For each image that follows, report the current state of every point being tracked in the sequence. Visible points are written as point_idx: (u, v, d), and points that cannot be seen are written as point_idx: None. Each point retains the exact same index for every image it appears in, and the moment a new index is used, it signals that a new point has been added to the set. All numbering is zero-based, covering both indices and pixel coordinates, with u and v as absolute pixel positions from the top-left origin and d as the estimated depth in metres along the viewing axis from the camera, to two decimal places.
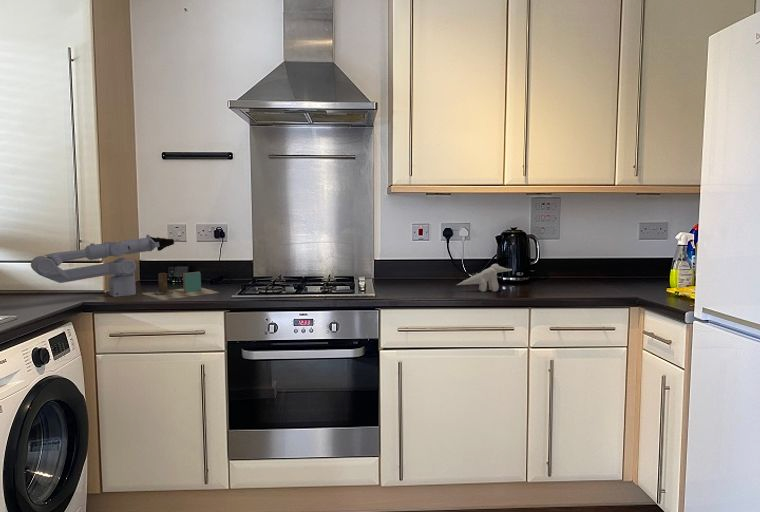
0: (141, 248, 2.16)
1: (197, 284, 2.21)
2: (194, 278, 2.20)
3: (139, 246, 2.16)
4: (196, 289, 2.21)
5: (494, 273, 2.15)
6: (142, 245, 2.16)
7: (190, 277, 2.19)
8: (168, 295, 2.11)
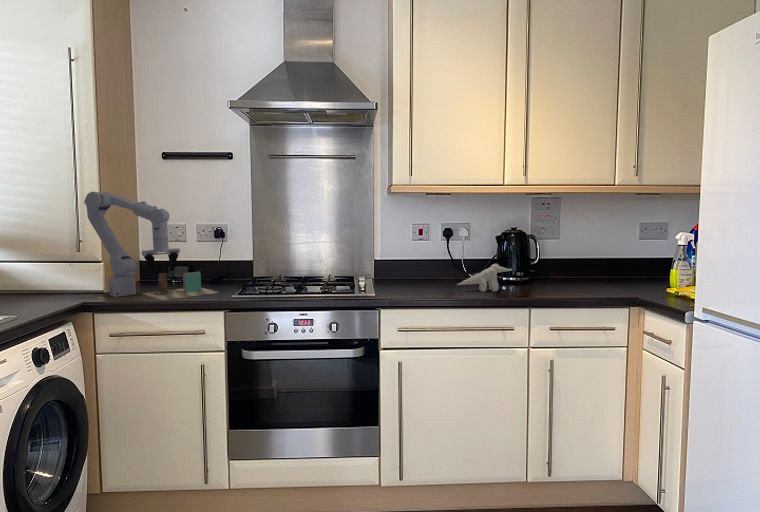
0: (153, 240, 2.12)
1: (197, 284, 2.21)
2: (194, 278, 2.20)
3: (153, 238, 2.11)
4: (196, 289, 2.21)
5: (494, 273, 2.15)
6: (153, 241, 2.11)
7: (190, 277, 2.19)
8: (168, 295, 2.11)
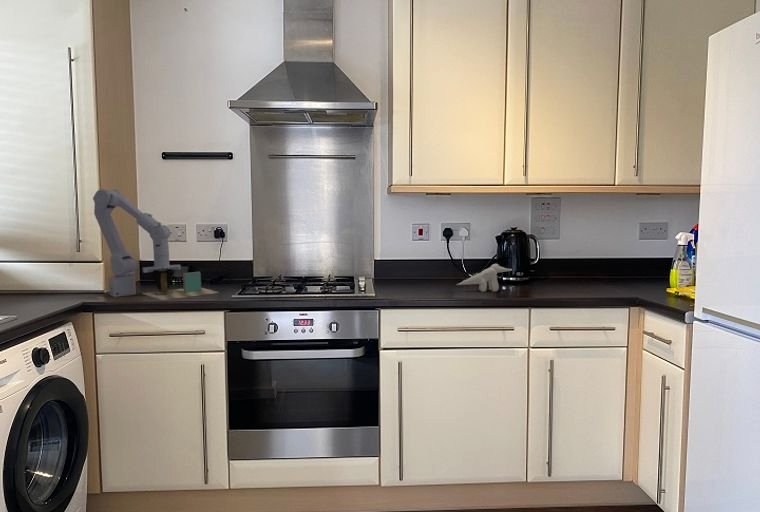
0: None
1: (197, 284, 2.21)
2: (194, 278, 2.20)
3: (154, 255, 2.12)
4: (196, 289, 2.21)
5: (494, 273, 2.15)
6: (154, 258, 2.12)
7: (190, 277, 2.19)
8: (168, 295, 2.11)
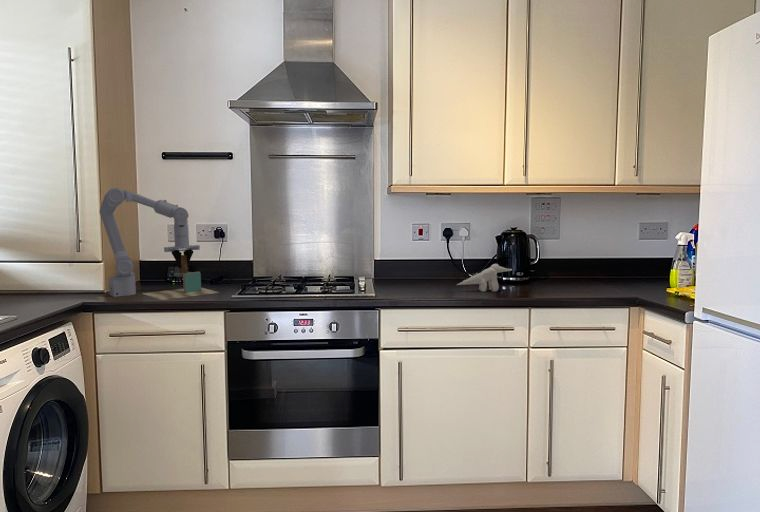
0: (174, 237, 2.22)
1: (197, 284, 2.21)
2: (194, 278, 2.20)
3: (174, 235, 2.21)
4: (196, 289, 2.21)
5: (494, 273, 2.15)
6: (175, 238, 2.21)
7: (190, 277, 2.19)
8: (168, 295, 2.11)
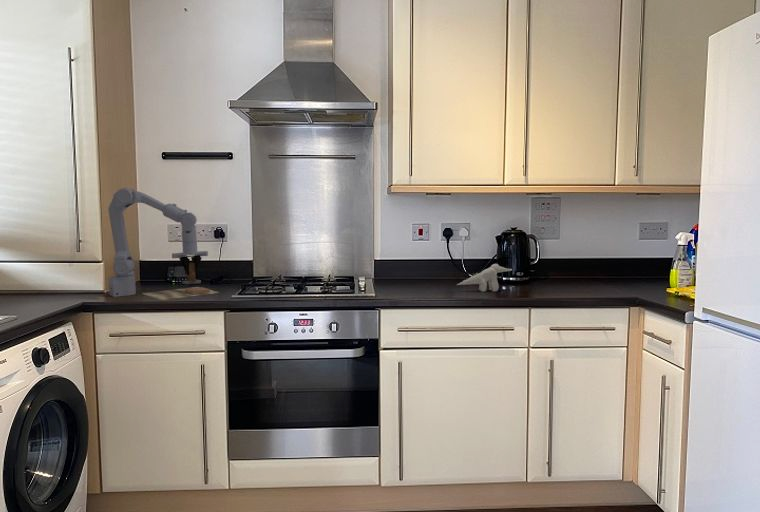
0: (182, 243, 2.18)
1: None
2: None
3: (182, 241, 2.17)
4: None
5: (494, 273, 2.15)
6: (183, 244, 2.17)
7: None
8: (168, 295, 2.11)
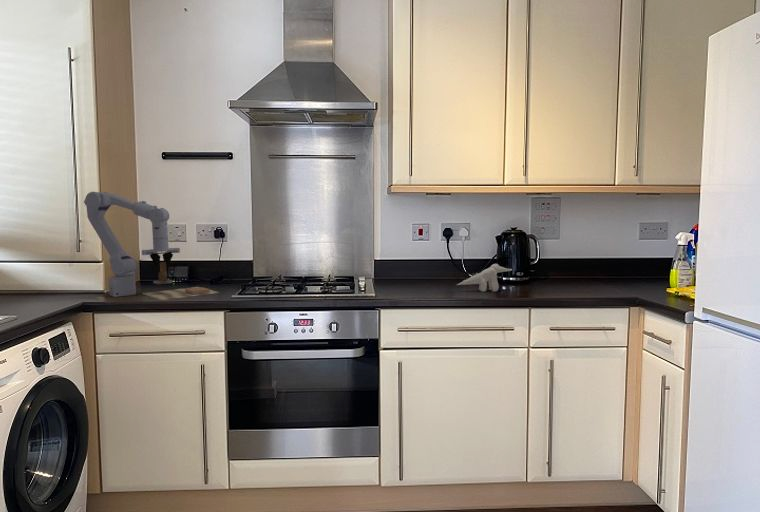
0: None
1: None
2: None
3: (153, 238, 2.11)
4: None
5: (494, 273, 2.15)
6: (153, 241, 2.11)
7: None
8: (168, 295, 2.11)
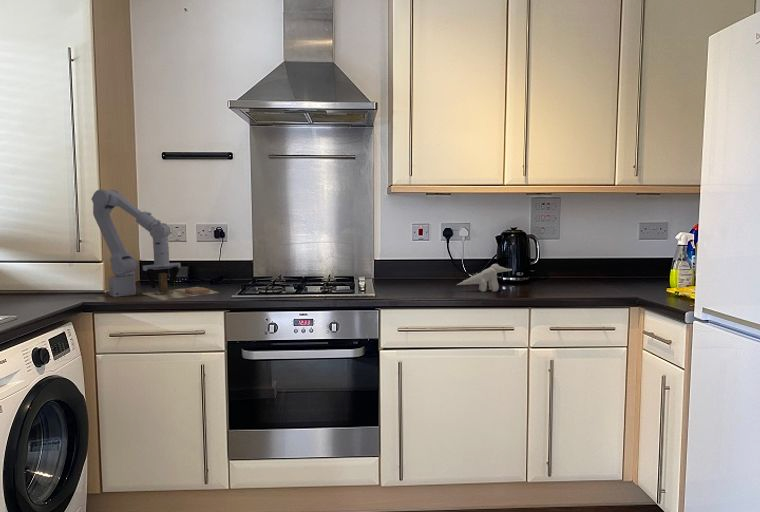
0: None
1: None
2: None
3: (154, 253, 2.12)
4: None
5: (494, 273, 2.15)
6: (154, 256, 2.12)
7: None
8: (168, 295, 2.11)
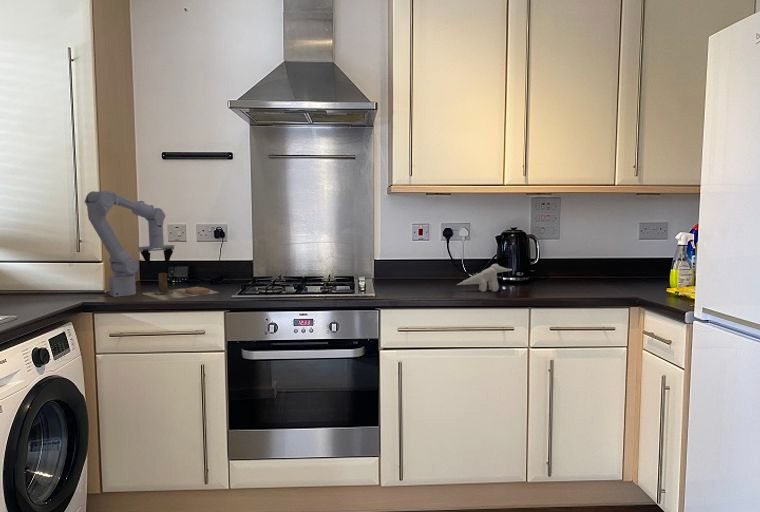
0: (149, 237, 2.27)
1: None
2: None
3: (149, 235, 2.26)
4: None
5: (494, 273, 2.15)
6: (149, 238, 2.26)
7: None
8: (168, 295, 2.11)
